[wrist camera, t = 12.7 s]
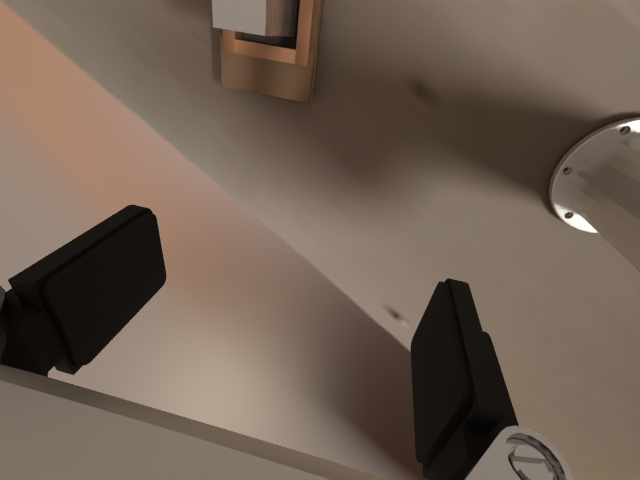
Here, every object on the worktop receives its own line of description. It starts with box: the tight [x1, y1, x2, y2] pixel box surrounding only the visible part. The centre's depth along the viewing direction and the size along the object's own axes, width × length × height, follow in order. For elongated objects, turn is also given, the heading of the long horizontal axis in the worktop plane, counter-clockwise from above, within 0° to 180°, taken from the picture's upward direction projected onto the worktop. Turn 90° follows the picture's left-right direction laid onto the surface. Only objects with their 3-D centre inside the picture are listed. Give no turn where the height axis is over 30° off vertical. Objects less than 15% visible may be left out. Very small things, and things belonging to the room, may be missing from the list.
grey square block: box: [212, 0, 297, 37], centre depth 28 cm, size 4×4×9 cm
